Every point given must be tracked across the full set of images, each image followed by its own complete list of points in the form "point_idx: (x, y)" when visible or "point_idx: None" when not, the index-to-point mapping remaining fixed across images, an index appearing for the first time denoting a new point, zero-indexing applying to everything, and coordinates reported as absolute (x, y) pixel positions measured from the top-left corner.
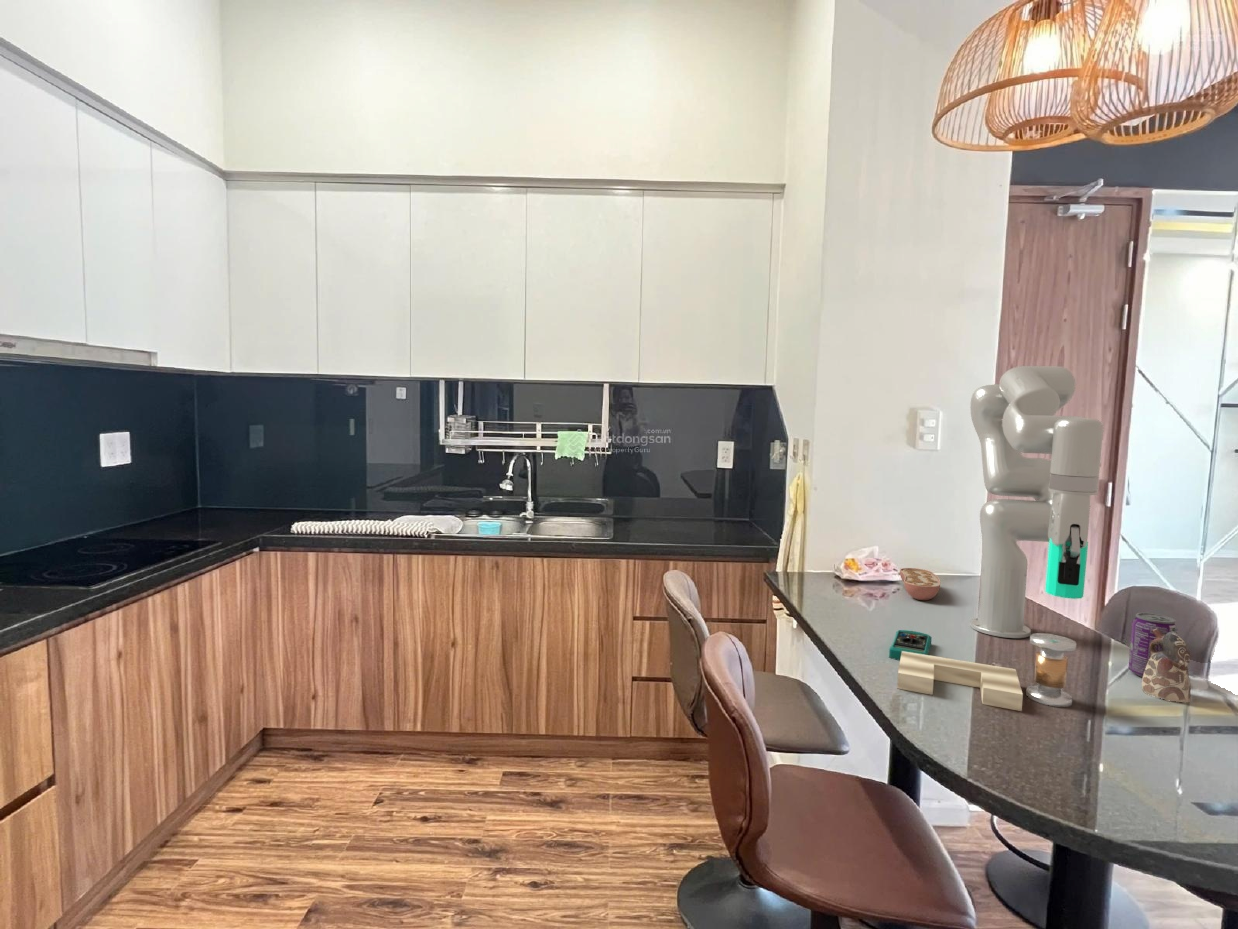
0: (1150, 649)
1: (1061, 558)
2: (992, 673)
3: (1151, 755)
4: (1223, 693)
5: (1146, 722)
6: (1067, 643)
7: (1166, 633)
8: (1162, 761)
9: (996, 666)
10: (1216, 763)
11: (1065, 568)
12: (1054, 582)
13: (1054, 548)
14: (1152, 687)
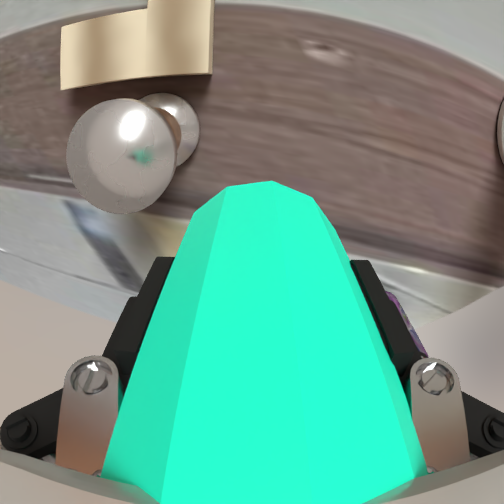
0: None
1: (112, 385)
2: (151, 28)
3: (37, 240)
4: None
5: (143, 261)
6: (102, 192)
7: None
8: (31, 248)
9: (207, 34)
10: (65, 298)
11: (109, 345)
12: (189, 238)
13: (143, 436)
14: None
